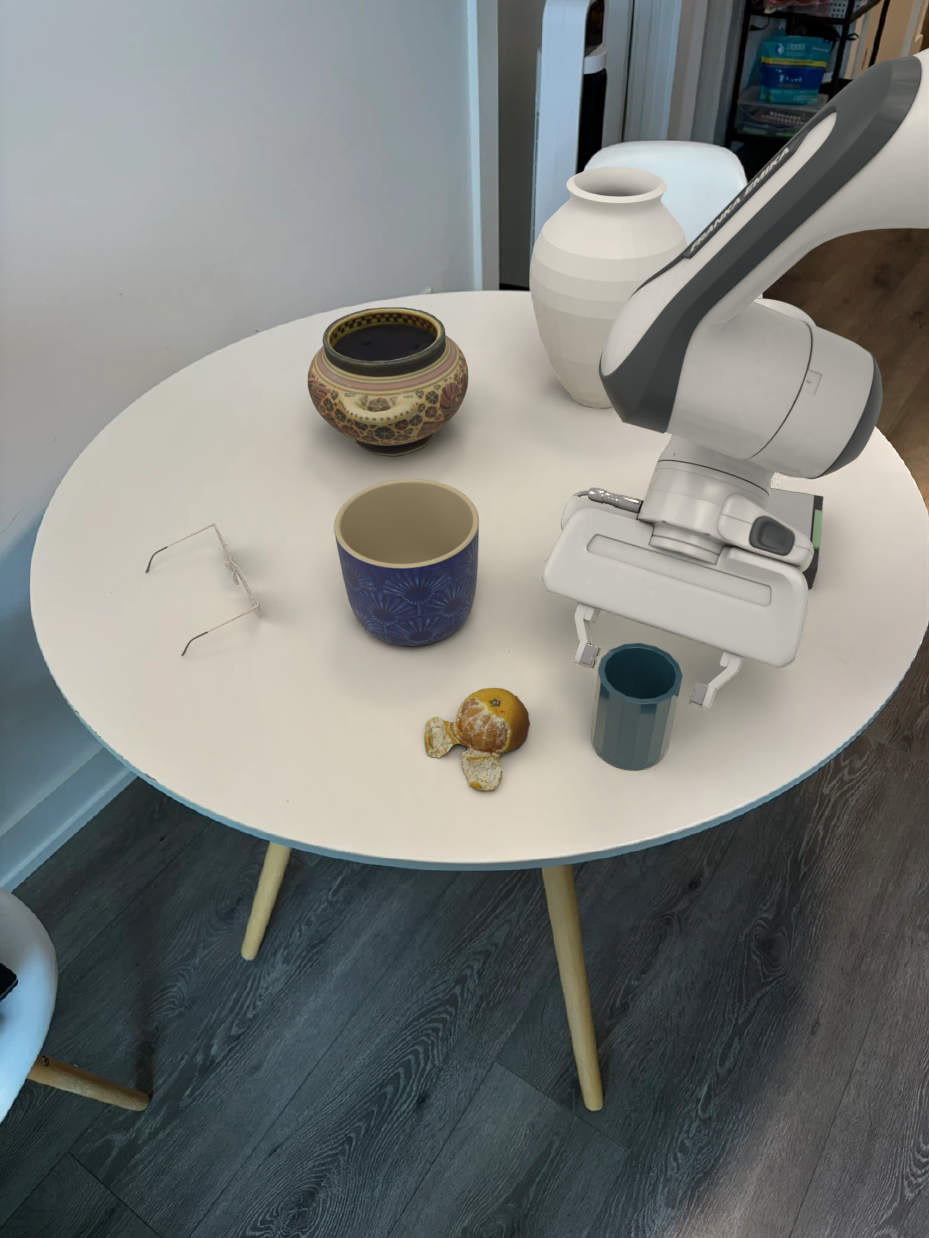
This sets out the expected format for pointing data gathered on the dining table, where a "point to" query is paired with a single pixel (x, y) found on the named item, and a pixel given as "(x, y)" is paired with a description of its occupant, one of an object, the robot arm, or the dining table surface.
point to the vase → (597, 267)
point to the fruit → (481, 734)
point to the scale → (800, 519)
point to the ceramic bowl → (388, 378)
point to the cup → (635, 705)
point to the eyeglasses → (233, 576)
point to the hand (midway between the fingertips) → (640, 686)
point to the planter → (409, 559)
